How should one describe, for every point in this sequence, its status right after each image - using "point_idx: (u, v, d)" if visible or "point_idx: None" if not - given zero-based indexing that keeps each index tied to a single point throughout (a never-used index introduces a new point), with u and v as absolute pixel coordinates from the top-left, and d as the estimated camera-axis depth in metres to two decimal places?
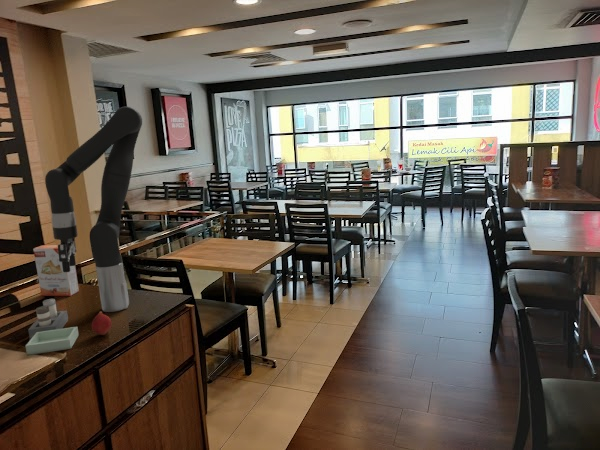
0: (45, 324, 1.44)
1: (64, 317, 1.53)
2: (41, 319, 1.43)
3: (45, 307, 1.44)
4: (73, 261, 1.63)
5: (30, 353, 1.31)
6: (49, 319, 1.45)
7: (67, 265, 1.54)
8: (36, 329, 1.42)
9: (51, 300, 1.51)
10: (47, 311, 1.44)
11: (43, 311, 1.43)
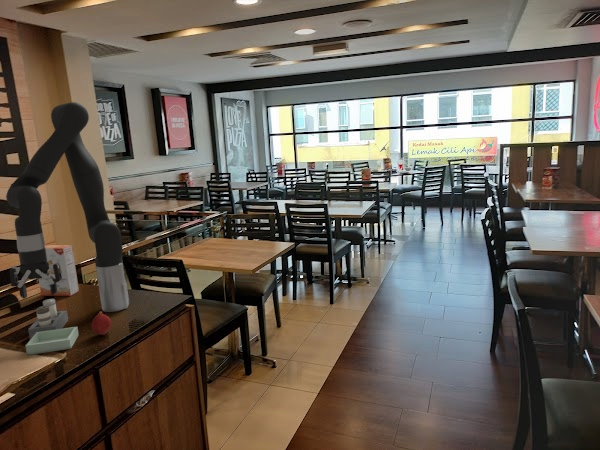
0: (45, 324, 1.44)
1: (64, 317, 1.53)
2: (41, 319, 1.43)
3: (45, 307, 1.44)
4: (25, 292, 1.43)
5: (30, 353, 1.31)
6: (49, 319, 1.45)
7: (56, 285, 1.45)
8: (36, 329, 1.42)
9: (51, 300, 1.51)
10: (47, 311, 1.44)
11: (43, 311, 1.43)
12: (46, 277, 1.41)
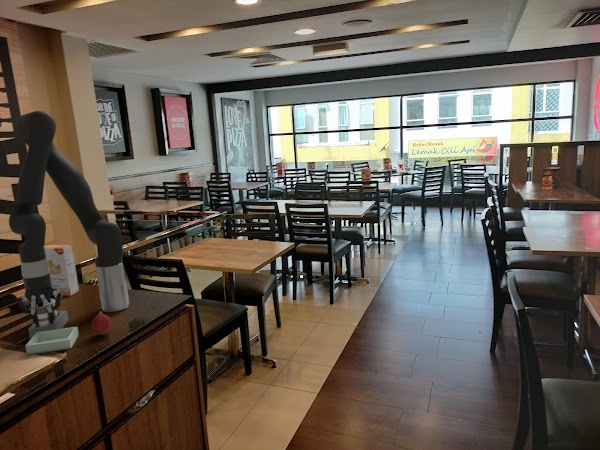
0: (45, 324, 1.44)
1: (64, 317, 1.53)
2: (41, 319, 1.43)
3: (45, 307, 1.44)
4: None
5: (30, 353, 1.31)
6: None
7: (54, 313, 1.46)
8: (36, 329, 1.42)
9: None
10: (47, 311, 1.44)
11: (43, 311, 1.43)
12: (47, 304, 1.43)
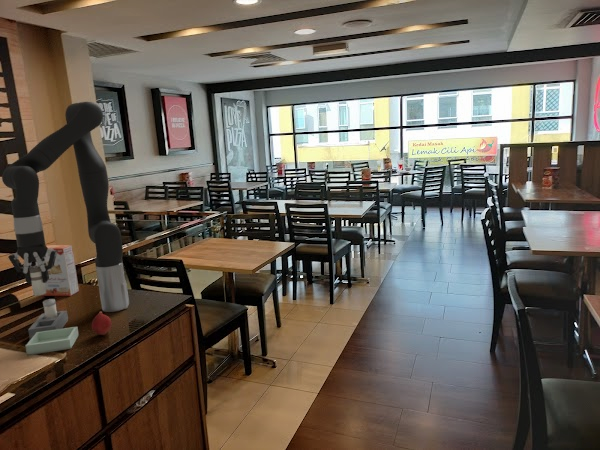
0: (38, 283, 1.39)
1: (64, 317, 1.53)
2: (34, 278, 1.38)
3: (38, 266, 1.40)
4: None
5: (30, 353, 1.31)
6: None
7: (48, 273, 1.41)
8: (36, 329, 1.42)
9: (51, 300, 1.51)
10: (40, 270, 1.39)
11: (36, 270, 1.38)
12: (40, 263, 1.38)
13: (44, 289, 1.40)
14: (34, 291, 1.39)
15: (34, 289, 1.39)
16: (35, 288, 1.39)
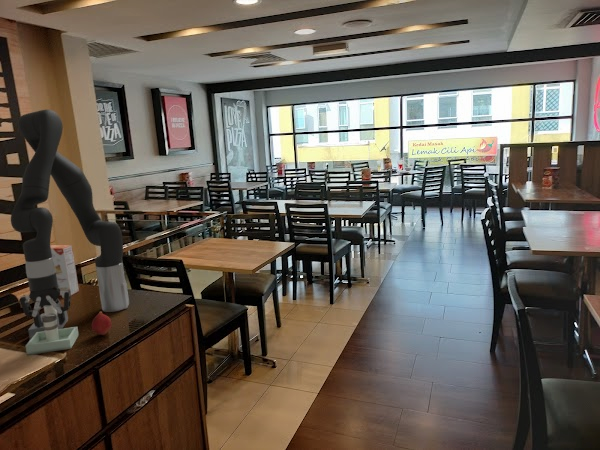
0: (52, 333, 1.35)
1: None
2: (47, 327, 1.34)
3: (52, 315, 1.35)
4: (40, 321, 1.35)
5: (30, 353, 1.31)
6: (56, 328, 1.36)
7: (64, 314, 1.37)
8: (36, 329, 1.42)
9: None
10: (54, 319, 1.35)
11: (50, 319, 1.34)
12: (55, 305, 1.34)
13: (57, 338, 1.36)
14: (48, 341, 1.35)
15: (48, 339, 1.35)
16: (49, 338, 1.35)
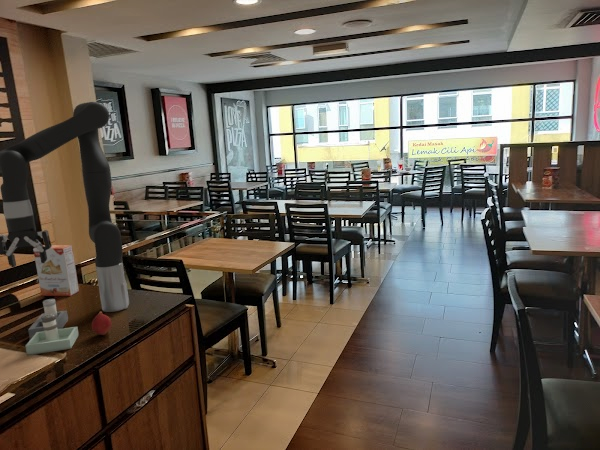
0: (51, 333, 1.35)
1: (64, 317, 1.53)
2: (47, 327, 1.34)
3: (51, 315, 1.35)
4: (14, 260, 1.40)
5: (30, 353, 1.31)
6: (55, 327, 1.36)
7: (46, 254, 1.42)
8: (36, 329, 1.42)
9: (51, 300, 1.51)
10: (53, 319, 1.35)
11: (49, 319, 1.34)
12: (35, 245, 1.39)
13: (57, 338, 1.36)
14: (47, 341, 1.35)
15: (47, 339, 1.35)
16: (49, 338, 1.35)
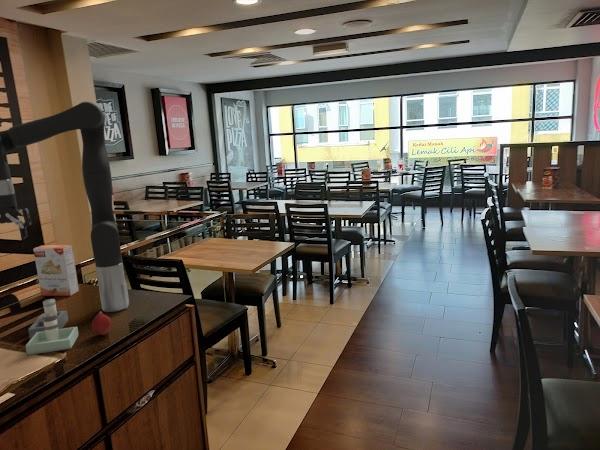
0: (52, 332, 1.35)
1: (64, 317, 1.53)
2: (48, 327, 1.34)
3: (52, 314, 1.36)
4: None
5: (30, 353, 1.31)
6: (56, 327, 1.36)
7: (26, 230, 1.53)
8: (36, 329, 1.42)
9: (51, 300, 1.51)
10: (55, 318, 1.35)
11: (50, 318, 1.34)
12: (16, 221, 1.49)
13: (58, 338, 1.36)
14: (48, 340, 1.35)
15: (48, 338, 1.35)
16: (49, 338, 1.35)
